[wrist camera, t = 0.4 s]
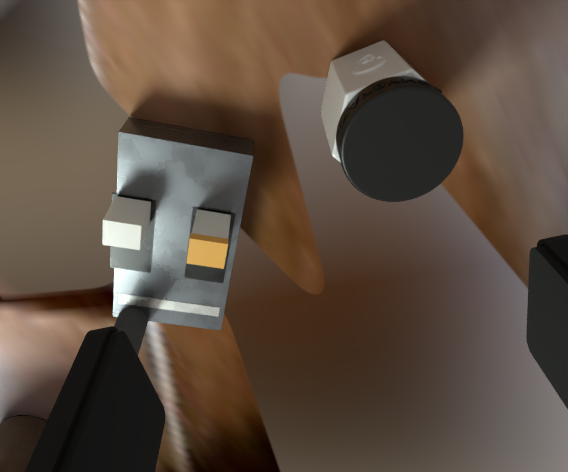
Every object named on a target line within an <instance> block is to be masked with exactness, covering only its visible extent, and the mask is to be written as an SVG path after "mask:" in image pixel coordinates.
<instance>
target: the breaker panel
mask: <svg viewBox="0 0 568 472" xmlns="http://www.w3.org/2000/svg"><path fill="white" fill-rule="evenodd" d="M253 153H254V140H250V139H244V138H239V137H233V136H228V135H223V134H217V133H212V132H206V131H201V130H195V129H190V128H184V127H179V126H174V125H168V124H163V123H157V122H152V121H146V120H141V119H135V118H130V117H129V118H128V119H127V121H126V122H125V124H124V125H123V126H122V128H121V129H120V131H119V139H118V172H117V173H118V174H117V193H112V202H113V201H114V199H115V197H116V196H117V197H124V198H130V199H136V200H142V201H148V202H151V211H150V225H149V228H148V230H147V233H146V235H145V238H144V241H143V243H142V246H141V249H140V250H135V249H128V248H121V247H115V246H111V249H110V251H111V252H110V267H113V268H114V299H113V316H114V317H118V315H119V313H120V312H121V311H122V310H123V309H126V308H136V309H139V310H141V311H143V312H144V313H145V314H146V315H147V318H148V321H152V322H160V323H168V324H175V325H183V326H191V327H198V328H206V329H214V330H221V326H222V321H223V315H224V309H225V305H226V299H227V294H228V289H229V283H230V277H231V273H232V267H233V262H234V256H235V251H236V246H237V241H238V235H239V230H240V225H241V219H242V214H243V208H244V203H245V198H246V192H247V187H248V182H249V176H250V171H251V166H252V160H253ZM197 209H198V210H204V211H210V212H216V213H222V214H228V215H231V219H230V228H229V236H228V239H229V241H228V248H227V254H226V259H225V265H224V269H221V268H214V267H207V266H201V265H194V264H187V255H188V247H189V239H190V235H191V233H192V229H193V225H194V221H195V217H196V212H197Z"/></svg>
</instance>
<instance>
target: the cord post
mask: <svg viewBox="0 0 568 472" xmlns="http://www.w3.org/2000/svg"><path fill="white" fill-rule="evenodd" d="M147 323H148V318H147V315H146V314H145V313H144V312H143V311H141V310H139V309H136V308H126V309H123V310H122V311H121V312H120V313H119V315H118V317H117V320H116V323H115V325H114V327H116V328H117V329H118V331H124V332H125V333H126V334H127V336H128V338H129V340H130V342H131V344H132V346H133V348H134V350H135V352H136V354H137V356H138V354H139V350H140V347H141V343H142V340H143V337H144V333H145V330H146V326H147Z"/></svg>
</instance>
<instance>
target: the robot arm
mask: <svg viewBox="0 0 568 472" xmlns="http://www.w3.org/2000/svg"><path fill="white" fill-rule="evenodd" d="M527 312H528V313H527V344H528V347H529V350H530V352H531V353H532V355H533V357H534V359H535V360H536V361H537V363H538V365H539V366H540V368H541V369H542V371H543V372H544V374H545V375H546V377H547V378H548V380H549V381H550V383H551V384H552V386H553V387H554V389H555V390H556V392H557V393H558V395H559V397H560V398H561V400H562V401H563V403H564V404H565V406H566V407H567V408H568V235H567V234H565V235H560V236H556V237H551V238H546V239H541V240H539V241H538V243H537V247H535V248H532V249H531V250H530V261H529V286H528V311H527ZM164 424H165V411H164V407H163V405H162V403H161V401H160V399H159V397H158V395H157V393H156V391H155V389H154V387H153V385H152V383H151V381H150V379H149V377H148V375H147V373H146V371H145V369H144V367H143V365H142V364H141V362H140V360H139V358H138V356H137V354H136V352H135V350H134V348H133V346H132V344H131V342H130V340H129V338H128V336H127V334H126V333H125V332H124V331H118V329H117V328H116V327H113V326H111V327H106V328H101V329H96V330H91V331H89V332H88V333H87V334H86V336H85V338H84V340H83V343H82V345H81V347H80V349H79V352H78V354H77V356H76V358H75V360H74V363H73V365H72V367H71V369H70V372H69V374H68V376H67V378H66V380H65V383H64V385H63V387H62V389H61V392H60V394H59V396H58V398H57V401H56V403H55V405H54V407H53V409H52V411H51V414H50V416H49V418H48V420H47V422H46V425H45V427H44V429H43V431H42V434H41V436H40V438H39V440H38V443H37V445H36V447H35V449H34V451H33V454H32V456H31V458H30V460H29V463H28V465H27V467H26V469H25V471H24V472H155V468H156V463H157V458H158V453H159V449H160V444H161V439H162V434H163V429H164Z"/></svg>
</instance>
